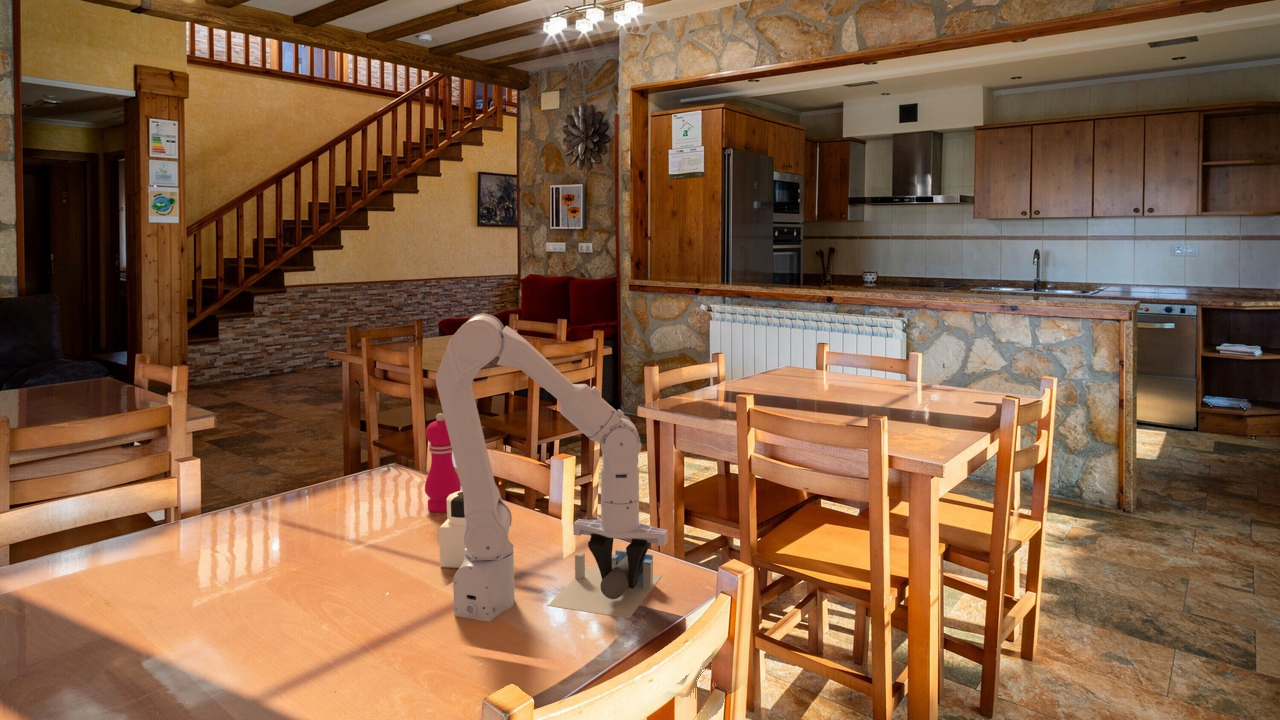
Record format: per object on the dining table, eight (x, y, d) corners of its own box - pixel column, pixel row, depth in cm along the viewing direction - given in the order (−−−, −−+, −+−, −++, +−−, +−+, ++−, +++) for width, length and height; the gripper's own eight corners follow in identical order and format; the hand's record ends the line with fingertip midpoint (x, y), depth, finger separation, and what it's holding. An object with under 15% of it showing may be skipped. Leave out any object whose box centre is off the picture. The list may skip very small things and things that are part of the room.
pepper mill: (417, 510, 169) (414, 414, 166) (441, 500, 175) (438, 408, 172) (445, 515, 165) (441, 418, 162) (468, 505, 172) (465, 411, 169)
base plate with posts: (629, 623, 119) (629, 586, 119) (547, 610, 123) (547, 574, 123) (661, 580, 134) (662, 547, 134) (588, 570, 138) (587, 538, 138)
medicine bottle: (492, 553, 146) (490, 488, 144) (480, 569, 139) (478, 500, 137) (453, 551, 146) (451, 486, 145) (439, 567, 139) (437, 499, 138)
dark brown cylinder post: (623, 600, 122) (622, 577, 121) (600, 597, 123) (600, 574, 123) (643, 577, 131) (643, 555, 130) (622, 574, 132) (622, 552, 132)
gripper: (673, 495, 125) (673, 580, 127) (585, 486, 130) (586, 568, 132) (659, 509, 119) (659, 598, 121) (567, 499, 123) (568, 585, 125)
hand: (620, 584), depth 126 cm, fingers closed on dark brown cylinder post, 4 cm apart
